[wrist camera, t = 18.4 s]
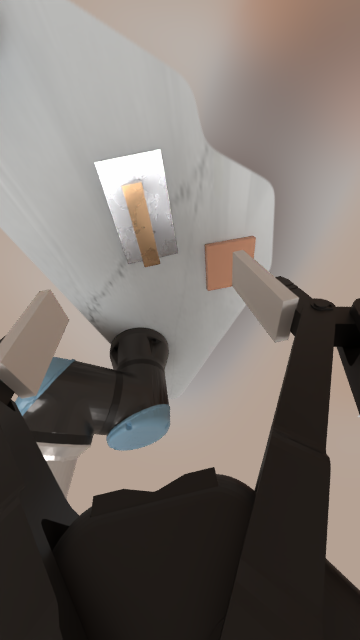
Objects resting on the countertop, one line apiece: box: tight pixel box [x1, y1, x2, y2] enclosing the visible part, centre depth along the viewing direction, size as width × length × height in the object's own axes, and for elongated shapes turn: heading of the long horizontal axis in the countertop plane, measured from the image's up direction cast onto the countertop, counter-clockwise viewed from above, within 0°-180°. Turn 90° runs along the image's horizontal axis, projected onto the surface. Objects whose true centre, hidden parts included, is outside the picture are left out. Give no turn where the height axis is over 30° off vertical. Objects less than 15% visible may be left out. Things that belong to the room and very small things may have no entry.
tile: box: [205, 236, 256, 291], centre depth 44 cm, size 2×10×10 cm
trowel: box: [94, 149, 178, 267], centre depth 32 cm, size 16×10×11 cm, turn 9°
